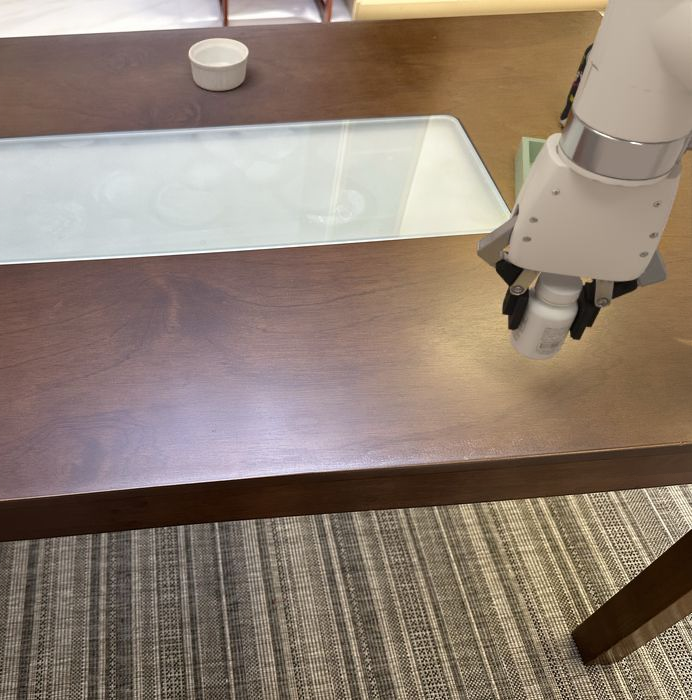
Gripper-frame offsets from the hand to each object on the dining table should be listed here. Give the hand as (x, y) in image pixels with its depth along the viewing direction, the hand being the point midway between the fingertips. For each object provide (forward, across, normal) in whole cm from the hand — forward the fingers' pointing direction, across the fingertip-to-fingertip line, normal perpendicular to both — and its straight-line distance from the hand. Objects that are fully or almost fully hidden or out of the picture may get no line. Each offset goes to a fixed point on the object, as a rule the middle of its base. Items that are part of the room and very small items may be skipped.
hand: (543, 322), depth 63 cm
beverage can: (+9, -9, -50) cm, 52 cm away
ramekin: (+8, +43, -51) cm, 67 cm away
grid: (+9, -7, -33) cm, 35 cm away
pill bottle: (+3, 0, 0) cm, 3 cm away
